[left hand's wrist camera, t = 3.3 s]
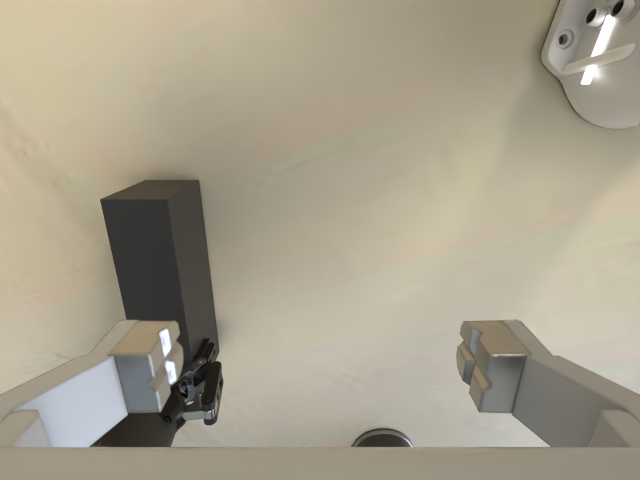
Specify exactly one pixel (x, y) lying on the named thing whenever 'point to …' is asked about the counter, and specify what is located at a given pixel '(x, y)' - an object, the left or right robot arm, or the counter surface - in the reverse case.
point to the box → (163, 258)
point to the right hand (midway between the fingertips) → (181, 344)
